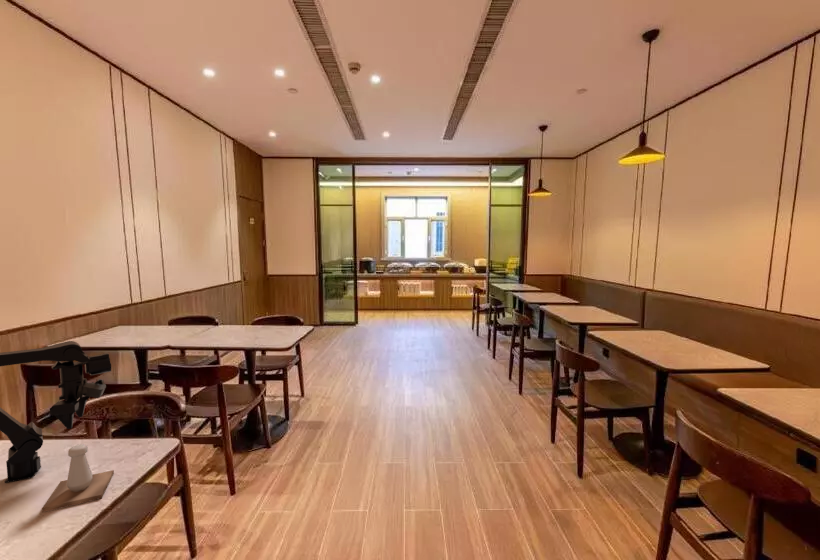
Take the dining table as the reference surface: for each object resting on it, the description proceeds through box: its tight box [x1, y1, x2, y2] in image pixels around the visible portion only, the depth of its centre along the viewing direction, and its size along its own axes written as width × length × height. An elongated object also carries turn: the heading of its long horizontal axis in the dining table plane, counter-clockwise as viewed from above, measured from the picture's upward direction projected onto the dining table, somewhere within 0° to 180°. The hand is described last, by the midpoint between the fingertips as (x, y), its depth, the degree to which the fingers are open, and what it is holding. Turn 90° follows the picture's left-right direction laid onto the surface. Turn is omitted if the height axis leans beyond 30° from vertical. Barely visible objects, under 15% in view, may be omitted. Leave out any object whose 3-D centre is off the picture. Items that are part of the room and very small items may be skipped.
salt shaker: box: [66, 443, 93, 492], centre depth 109 cm, size 6×6×13 cm
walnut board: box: [41, 469, 115, 513], centre depth 109 cm, size 13×13×1 cm
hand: (75, 422), depth 125 cm, fingers open, 9 cm apart
